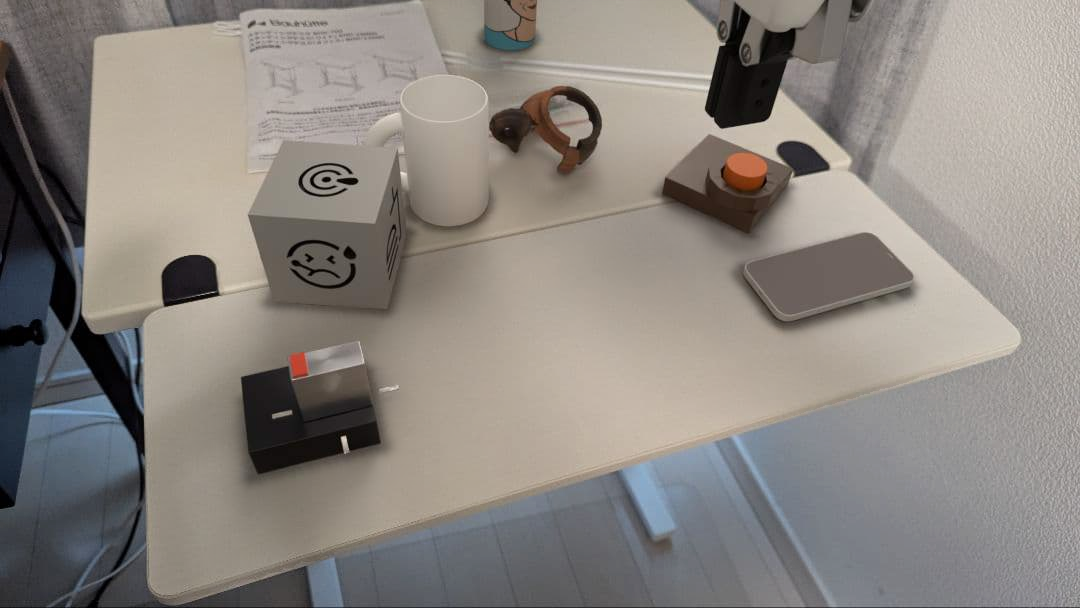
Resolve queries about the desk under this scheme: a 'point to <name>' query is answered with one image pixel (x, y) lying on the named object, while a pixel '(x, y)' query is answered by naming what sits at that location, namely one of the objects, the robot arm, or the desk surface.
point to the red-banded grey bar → (330, 380)
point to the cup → (510, 23)
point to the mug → (442, 148)
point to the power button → (745, 171)
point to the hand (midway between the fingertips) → (736, 116)
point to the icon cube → (331, 224)
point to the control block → (723, 184)
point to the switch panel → (298, 424)
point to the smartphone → (827, 276)
